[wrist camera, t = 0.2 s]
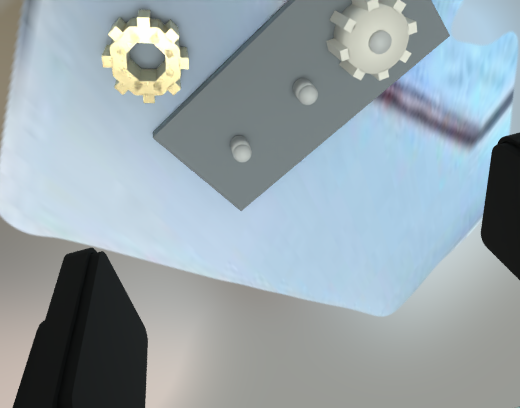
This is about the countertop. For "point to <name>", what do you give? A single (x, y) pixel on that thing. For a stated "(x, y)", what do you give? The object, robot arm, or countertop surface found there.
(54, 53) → the countertop surface
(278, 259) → the countertop surface
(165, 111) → the countertop surface
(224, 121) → the gear board
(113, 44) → the brass gear
